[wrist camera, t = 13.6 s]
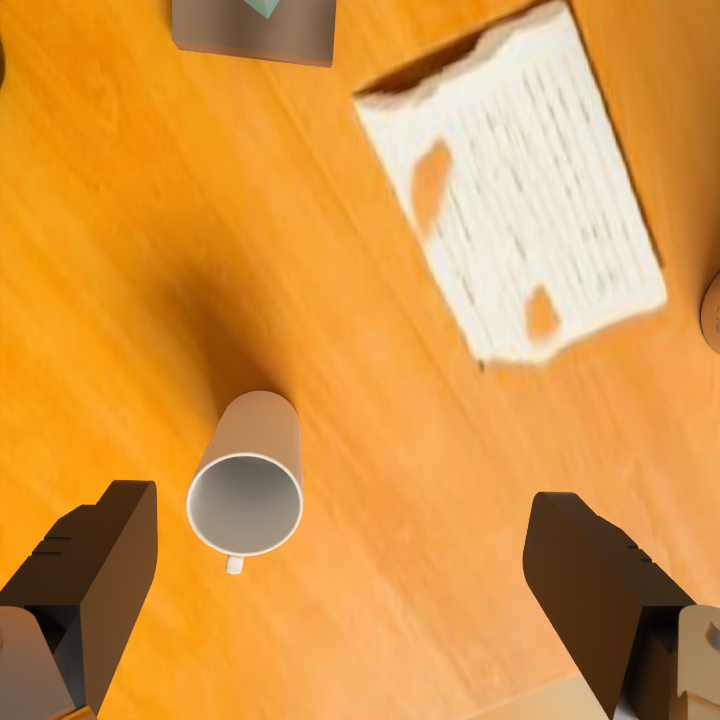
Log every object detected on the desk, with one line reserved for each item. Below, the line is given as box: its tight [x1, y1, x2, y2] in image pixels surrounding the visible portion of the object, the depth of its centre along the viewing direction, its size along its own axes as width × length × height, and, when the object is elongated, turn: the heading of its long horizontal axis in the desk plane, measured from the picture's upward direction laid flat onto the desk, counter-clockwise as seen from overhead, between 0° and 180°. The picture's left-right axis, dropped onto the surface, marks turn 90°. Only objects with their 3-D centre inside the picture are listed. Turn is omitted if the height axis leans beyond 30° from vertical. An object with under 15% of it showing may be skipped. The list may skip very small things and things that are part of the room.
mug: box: [186, 391, 303, 574], centre depth 37 cm, size 10×7×12 cm, turn 167°
